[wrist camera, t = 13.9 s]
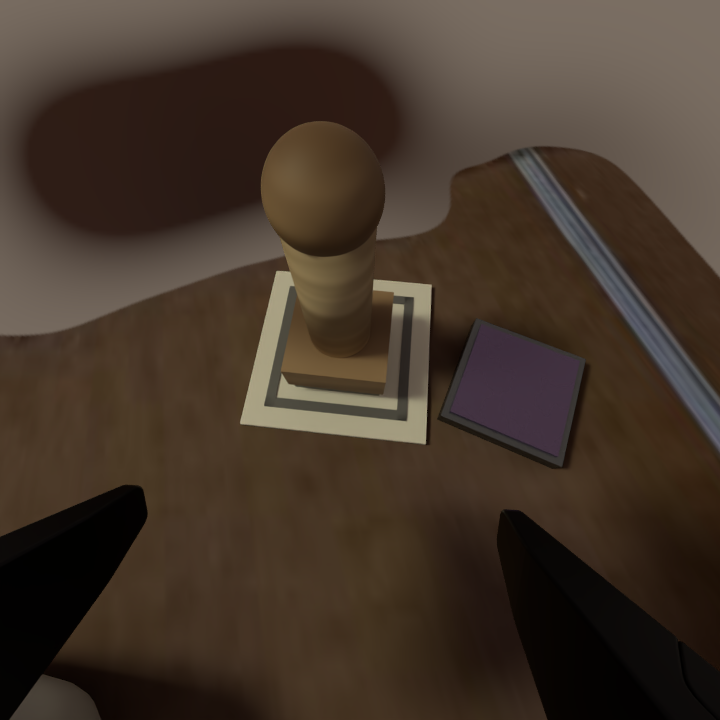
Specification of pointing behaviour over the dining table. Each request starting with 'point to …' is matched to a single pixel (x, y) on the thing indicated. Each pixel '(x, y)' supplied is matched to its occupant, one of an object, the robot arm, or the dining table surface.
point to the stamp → (330, 256)
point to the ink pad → (514, 393)
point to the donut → (56, 702)
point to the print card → (343, 409)
